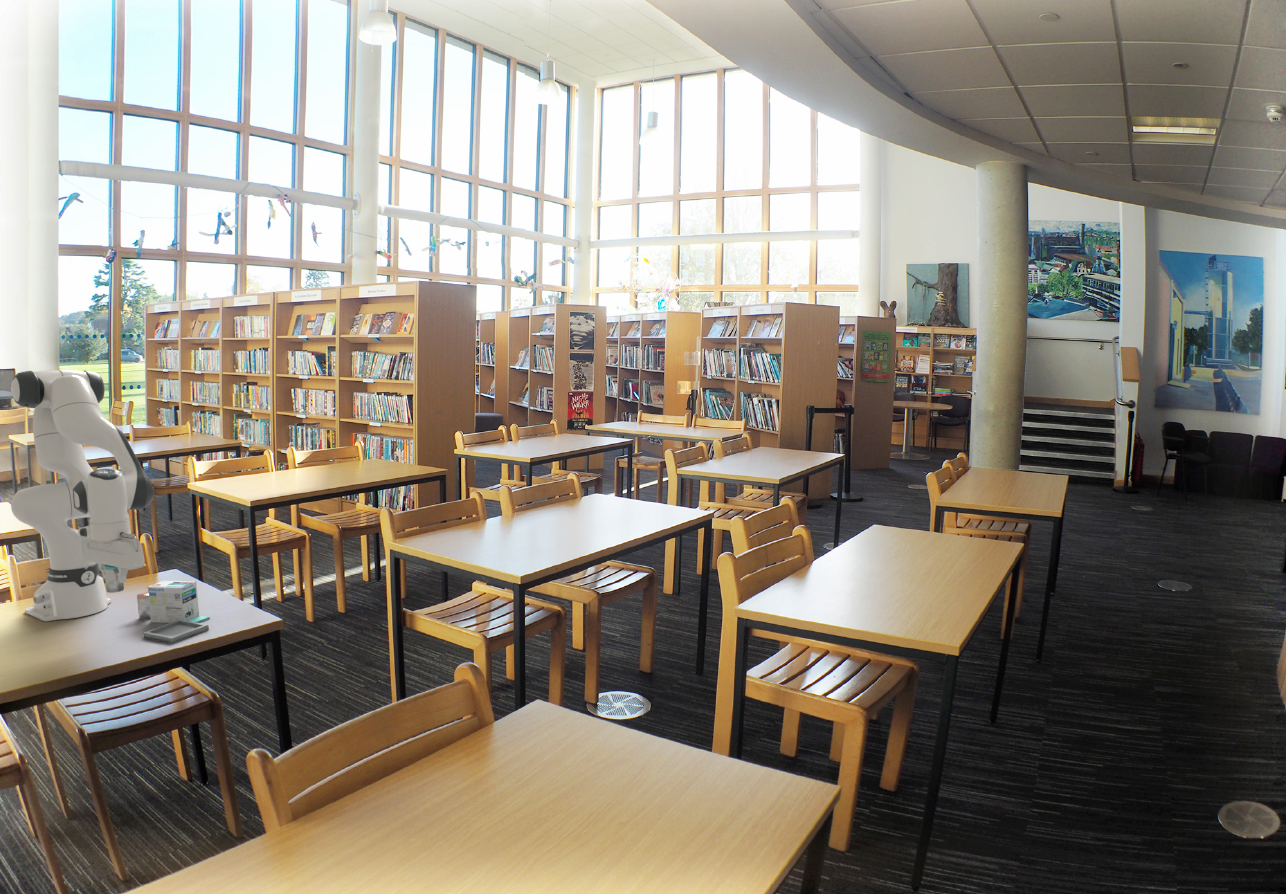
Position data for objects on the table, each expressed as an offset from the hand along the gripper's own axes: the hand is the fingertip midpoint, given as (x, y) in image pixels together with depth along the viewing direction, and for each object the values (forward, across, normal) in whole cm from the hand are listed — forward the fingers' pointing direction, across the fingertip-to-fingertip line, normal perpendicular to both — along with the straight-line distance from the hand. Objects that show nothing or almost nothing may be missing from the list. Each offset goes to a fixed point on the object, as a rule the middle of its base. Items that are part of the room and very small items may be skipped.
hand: (114, 580), depth 210 cm
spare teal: (+3, 0, 0) cm, 3 cm away
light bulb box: (+16, -1, -16) cm, 23 cm away
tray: (+16, -12, -8) cm, 21 cm away
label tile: (+16, -8, -17) cm, 25 cm away
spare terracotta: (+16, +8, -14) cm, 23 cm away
